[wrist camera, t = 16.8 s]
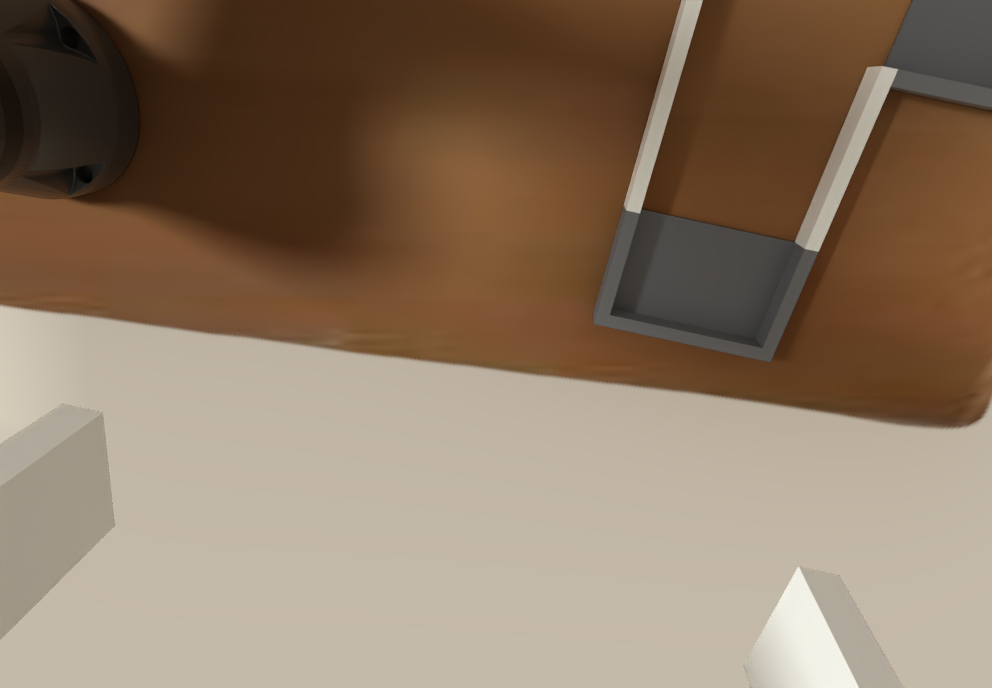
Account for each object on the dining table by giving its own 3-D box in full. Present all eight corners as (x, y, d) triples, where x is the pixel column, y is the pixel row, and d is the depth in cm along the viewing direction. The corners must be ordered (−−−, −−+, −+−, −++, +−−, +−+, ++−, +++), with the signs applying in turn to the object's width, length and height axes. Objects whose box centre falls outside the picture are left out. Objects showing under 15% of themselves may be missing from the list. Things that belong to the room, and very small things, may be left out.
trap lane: (592, 314, 48) (594, 328, 45) (802, -429, 30) (826, -480, 27) (872, 375, 47) (891, 393, 44) (1247, -341, 30) (1317, -385, 27)
